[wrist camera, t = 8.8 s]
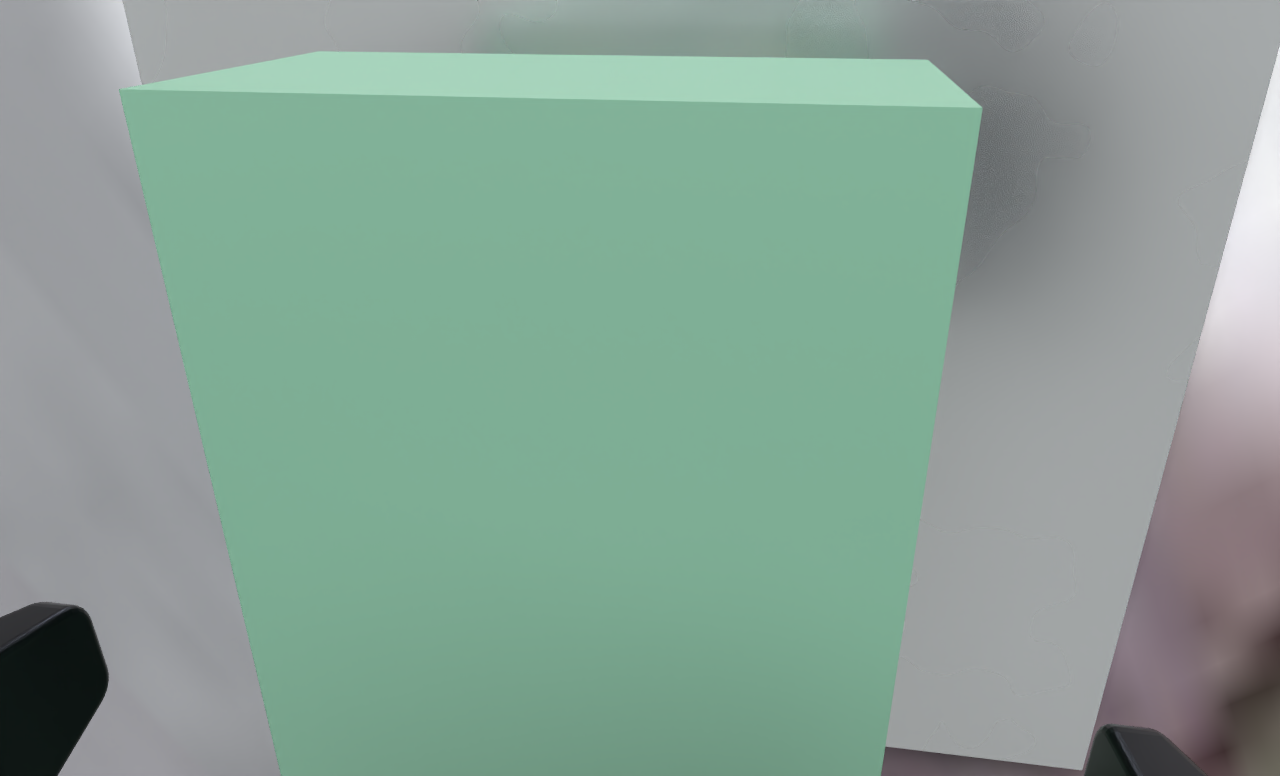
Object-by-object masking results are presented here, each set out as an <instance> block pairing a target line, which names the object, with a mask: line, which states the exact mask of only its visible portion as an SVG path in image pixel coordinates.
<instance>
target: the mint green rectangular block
mask: <svg viewBox="0 0 1280 776" xmlns="http://www.w3.org/2000/svg"><path fill="white" fill-rule="evenodd" d="M119 92H120V96H121V100H122V105H123V109H124V113H125V117H126V122H127V126H128V130H129V134H130V139H131V143H132V147H133V151H134V155H135V160H136V164H137V168H138V172H139V177H140V181H141V185H142V189H143V194H144V198H145V202H146V206H147V210H148V215H149V219H150V223H151V227H152V232H153V236H154V240H155V244H156V249H157V253H158V257H159V261H160V265H161V270H162V274H163V278H164V282H165V287H166V291H167V295H168V299H169V304H170V308H171V312H172V316H173V320H174V325H175V329H176V333H177V337H178V342H179V346H180V350H181V354H182V359H183V363H184V367H185V371H186V375H187V380H188V384H189V388H190V392H191V397H192V401H193V405H194V409H195V413H196V418H197V422H198V426H199V430H200V435H201V439H202V443H203V447H204V452H205V456H206V460H207V464H208V468H209V473H210V477H211V481H212V485H213V490H214V494H215V498H216V502H217V507H218V511H219V515H220V519H221V523H222V528H223V532H224V536H225V540H226V545H227V549H228V553H229V557H230V562H231V566H232V570H233V574H234V578H235V583H236V587H237V591H238V595H239V600H240V604H241V608H242V612H243V617H244V621H245V625H246V629H247V633H248V638H249V642H250V646H251V650H252V655H253V659H254V663H255V667H256V672H257V676H258V680H259V684H260V688H261V693H262V697H263V701H264V705H265V710H266V714H267V718H268V722H269V727H270V731H271V735H272V739H273V743H274V748H275V752H276V756H277V760H278V765H279V769H280V773H281V776H881V771H882V764H883V758H884V751H885V745H886V738H887V732H888V725H889V719H890V712H891V705H892V699H893V692H894V686H895V679H896V673H897V666H898V660H899V653H900V646H901V640H902V633H903V627H904V620H905V614H906V607H907V601H908V594H909V587H910V581H911V574H912V568H913V561H914V555H915V548H916V542H917V535H918V528H919V522H920V515H921V509H922V502H923V496H924V489H925V483H926V476H927V469H928V463H929V456H930V450H931V443H932V437H933V430H934V424H935V417H936V410H937V404H938V397H939V391H940V384H941V378H942V371H943V365H944V358H945V351H946V345H947V338H948V332H949V325H950V319H951V312H952V306H953V299H954V292H955V286H956V279H957V273H958V266H959V260H960V253H961V247H962V240H963V233H964V227H965V220H966V214H967V207H968V201H969V194H970V188H971V181H972V174H973V168H974V161H975V155H976V148H977V142H978V135H979V129H980V122H981V115H982V109H983V108H982V107H981V106H980V105H979V104H978V103H977V102H975V101H974V100H973V99H972V98H971V97H970V96H969V95H968V94H966V93H965V92H964V91H963V90H962V89H961V88H960V87H958V86H957V85H956V84H955V83H954V82H953V81H952V80H951V79H949V78H948V77H947V76H946V75H945V74H944V73H943V72H941V71H940V70H939V69H938V68H937V67H936V66H935V65H933V64H932V63H931V62H930V61H929V60H913V59H841V58H768V57H696V56H623V55H551V54H478V53H406V52H333V51H318V52H312V53H307V54H302V55H297V56H291V57H286V58H281V59H276V60H270V61H265V62H260V63H255V64H249V65H244V66H239V67H234V68H228V69H223V70H218V71H213V72H207V73H202V74H197V75H192V76H186V77H181V78H176V79H170V80H165V81H160V82H155V83H149V84H144V85H139V86H134V87H128V88H123V89H119Z"/></svg>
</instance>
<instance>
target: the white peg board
mask: <svg viewBox="0 0 1280 776" xmlns="http://www.w3.org/2000/svg"><path fill="white" fill-rule="evenodd" d="M123 4H124V9H125V13H126V17H127V22H128V26H129V30H130V35H131V39H132V43H133V48H134V52H135V56H136V61H137V65H138V69H139V74H140V78H141V82H142V85H144V84H149V83H155V82H160V81H165V80H170V79H176V78H181V77H186V76H192V75H197V74H202V73H207V72H213V71H218V70H223V69H228V68H234V67H239V66H244V65H249V64H255V63H260V62H265V61H270V60H276V59H281V58H286V57H291V56H297V55H302V54H307V53H312V52H318V51H333V52H406V53H478V54H551V55H623V56H696V57H768V58H841V59H913V60H929V61H930V62H931V63H932V64H933V65H935V66H936V67H937V68H938V69H939V70H940V71H941V72H943V73H944V74H945V75H946V76H947V77H948V78H949V79H951V80H952V81H953V82H954V83H955V84H956V85H957V86H958V87H960V88H961V89H962V90H963V91H964V92H965V93H966V94H968V95H969V96H970V97H971V98H972V99H973V100H974V101H975V102H977V103H978V104H979V105H980V106H981V107H982V108H983V109H982V115H981V122H980V129H979V135H978V142H977V148H976V155H975V161H974V168H973V174H972V181H971V188H970V194H969V201H968V207H967V214H966V220H965V227H964V233H963V240H962V247H961V253H960V260H959V266H958V273H957V279H956V286H955V292H954V299H953V306H952V312H951V319H950V325H949V332H948V338H947V345H946V351H945V358H944V365H943V371H942V378H941V384H940V391H939V397H938V404H937V410H936V417H935V424H934V430H933V437H932V443H931V450H930V456H929V463H928V469H927V476H926V483H925V489H924V496H923V502H922V509H921V515H920V522H919V528H918V535H917V542H916V548H915V555H914V561H913V568H912V574H911V581H910V587H909V594H908V601H907V607H906V614H905V620H904V627H903V633H902V640H901V646H900V653H899V660H898V666H897V673H896V679H895V686H894V692H893V699H892V705H891V712H890V719H889V725H888V732H887V738H886V745H885V746H886V747H894V748H902V749H911V750H919V751H927V752H935V753H944V754H952V755H960V756H968V757H976V758H985V759H993V760H1001V761H1009V762H1018V763H1026V764H1034V765H1042V766H1050V767H1059V768H1067V769H1075V770H1082V769H1083V765H1084V762H1085V758H1086V754H1087V751H1088V747H1089V743H1090V740H1091V736H1092V732H1093V729H1094V725H1095V721H1096V718H1097V714H1098V710H1099V707H1100V703H1101V699H1102V696H1103V692H1104V688H1105V685H1106V681H1107V677H1108V674H1109V670H1110V666H1111V663H1112V659H1113V655H1114V652H1115V648H1116V644H1117V641H1118V637H1119V633H1120V630H1121V626H1122V622H1123V619H1124V615H1125V611H1126V608H1127V604H1128V600H1129V597H1130V593H1131V589H1132V586H1133V582H1134V578H1135V575H1136V571H1137V567H1138V564H1139V560H1140V556H1141V553H1142V549H1143V545H1144V542H1145V538H1146V534H1147V531H1148V527H1149V523H1150V519H1151V516H1152V512H1153V508H1154V505H1155V501H1156V497H1157V494H1158V490H1159V486H1160V483H1161V479H1162V475H1163V472H1164V468H1165V464H1166V461H1167V457H1168V453H1169V450H1170V446H1171V442H1172V439H1173V435H1174V431H1175V428H1176V424H1177V420H1178V417H1179V413H1180V409H1181V406H1182V402H1183V398H1184V395H1185V391H1186V387H1187V384H1188V380H1189V376H1190V373H1191V369H1192V365H1193V362H1194V358H1195V354H1196V351H1197V347H1198V343H1199V340H1200V336H1201V332H1202V329H1203V325H1204V321H1205V318H1206V314H1207V310H1208V307H1209V303H1210V299H1211V296H1212V292H1213V288H1214V285H1215V281H1216V277H1217V273H1218V270H1219V266H1220V262H1221V259H1222V255H1223V251H1224V248H1225V244H1226V240H1227V237H1228V233H1229V229H1230V226H1231V222H1232V218H1233V215H1234V211H1235V207H1236V204H1237V200H1238V196H1239V193H1240V189H1241V185H1242V182H1243V178H1244V174H1245V171H1246V167H1247V163H1248V160H1249V156H1250V152H1251V149H1252V145H1253V141H1254V138H1255V134H1256V130H1257V127H1258V123H1259V119H1260V116H1261V112H1262V108H1263V105H1264V101H1265V97H1266V94H1267V90H1268V86H1269V83H1270V79H1271V75H1272V72H1273V68H1274V64H1275V61H1276V57H1277V53H1278V50H1279V46H1280V0H123Z"/></svg>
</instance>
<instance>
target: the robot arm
mask: <svg viewBox="0 0 1280 776" xmlns="http://www.w3.org/2000/svg"><path fill="white" fill-rule="evenodd" d="M108 681H109V673H108V668H107V665H106V662H105V659H104V656H103V653H102V650H101V647H100V644H99V641H98V638H97V635H96V632H95V629H94V626H93V623H92V620H91V618H90V616H89V614H88V613H87V612H86V611H85V610H84V609H83V608H81V607H79V606H76V605H69V604H60V603H52V602H39V603H34V604H31V605H29V606H26V607H24V608H21V609H19V610H17V611H14V612H12V613H10V614H7V615H5V616H2V617H0V776H58V774H59V772H60V771H61V769H62V767H63V766H64V764H65V762H66V761H67V759H68V757H69V756H70V754H71V752H72V751H73V749H74V747H75V746H76V744H77V742H78V741H79V739H80V737H81V736H82V734H83V732H84V731H85V729H86V727H87V726H88V724H89V722H90V721H91V719H92V717H93V716H94V714H95V712H96V710H97V709H98V707H99V705H100V704H101V702H102V700H103V698H104V696H105V693H106V691H107V687H108ZM1084 776H1208V775H1207V774H1206V773H1205V772H1204V771H1202V770H1201V769H1200V768H1199V767H1198V766H1197V765H1196V764H1195V763H1194V762H1193V761H1192V760H1191V759H1190V758H1189V757H1187V756H1186V755H1185V754H1184V753H1183V752H1182V751H1181V750H1180V749H1179V748H1178V747H1177V746H1176V745H1175V744H1174V743H1172V742H1171V741H1170V740H1169V739H1168V738H1167V737H1166V736H1165V735H1163V734H1162V733H1160V732H1158V731H1157V730H1154V729H1150V728H1143V727H1134V726H1125V725H1117V724H1107V725H1104V726H1102V727H1100V729H1099V730H1098V731H1097V733H1096V735H1095V738H1094V741H1093V745H1092V748H1091V752H1090V756H1089V759H1088V763H1087V766H1086V770H1085V774H1084Z"/></svg>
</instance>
